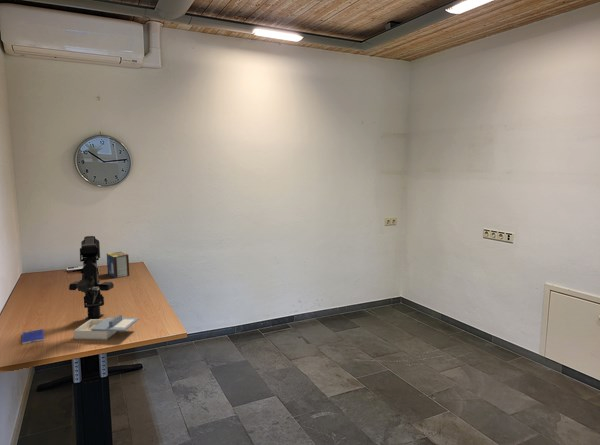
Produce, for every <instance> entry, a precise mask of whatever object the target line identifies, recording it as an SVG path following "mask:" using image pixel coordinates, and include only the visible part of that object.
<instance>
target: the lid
mask: <svg viewBox="0 0 600 445" xmlns="http://www.w3.org/2000/svg"><path fill="white" fill-rule="evenodd" d="M102 320H103V321H102V322H100V323H99V324H97V325H96V326H94V327H93V328H92V329H91V331H117V332H126V331H128V330H129V329H130V328H131V327H132V326H133V325H134V324H135V323H137V322H138V321H139V320H140V317H123V315H122V314H117V315H116V316H115V317H106V318H105V319H102Z"/></svg>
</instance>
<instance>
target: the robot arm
mask: <svg viewBox="0 0 600 445" xmlns="http://www.w3.org/2000/svg"><path fill="white" fill-rule="evenodd" d="M80 244H81V247H80V248H79V262H81V263H82V274H81V279H80V280H77V281H73V282H71V283H70V284H69V285H68V291H76V290H77V291H78V292H82V293H84V296H83V305H84V309H86V308H87V316H86V317H85V318H84V319H85V320H90V319H100V318H102V317H103V316H104V314H101V307H104V305H105V297H104V296H103V294H101V291H102V292H103V291H105V292H107V291H110V290H112V289H114V286H115V285H114V283H113V281H104V282H102V283H100V280H99V277H98V275H100V272H99V271H98V262H97V261H99V260H100V259H101V246H100V245H101V244H100V240H98V239H97V238H96V236H94V235H88V236H87V235H86V236H84V237H83V240H81V242H80Z"/></svg>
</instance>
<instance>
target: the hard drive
mask: <svg viewBox="0 0 600 445" xmlns="http://www.w3.org/2000/svg"><path fill="white" fill-rule="evenodd" d="M36 341H37V342H41V341H45V334H44V328H43V329H42V328H40V329H35V330H31V331H25V332H22V335H21V345H27V344H31V342H32V343H36Z"/></svg>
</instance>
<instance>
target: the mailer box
mask: <svg viewBox="0 0 600 445" xmlns="http://www.w3.org/2000/svg"><path fill="white" fill-rule="evenodd" d="M103 320H104V319H100V318H99V319H88V320H87V321H86V322H84V323H83V324H81V325H80V326H78V327H77V328H75V329H73V339H74V340H90V341H91V340H96V341H97V340H98V341H108V340H109V339H110V338H111V337H112V336H113V335H115V334H116V333H118V331H91V329H92V328H93V327H94V326H96V325H97V324H99V323H100V322H102V321H103Z"/></svg>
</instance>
